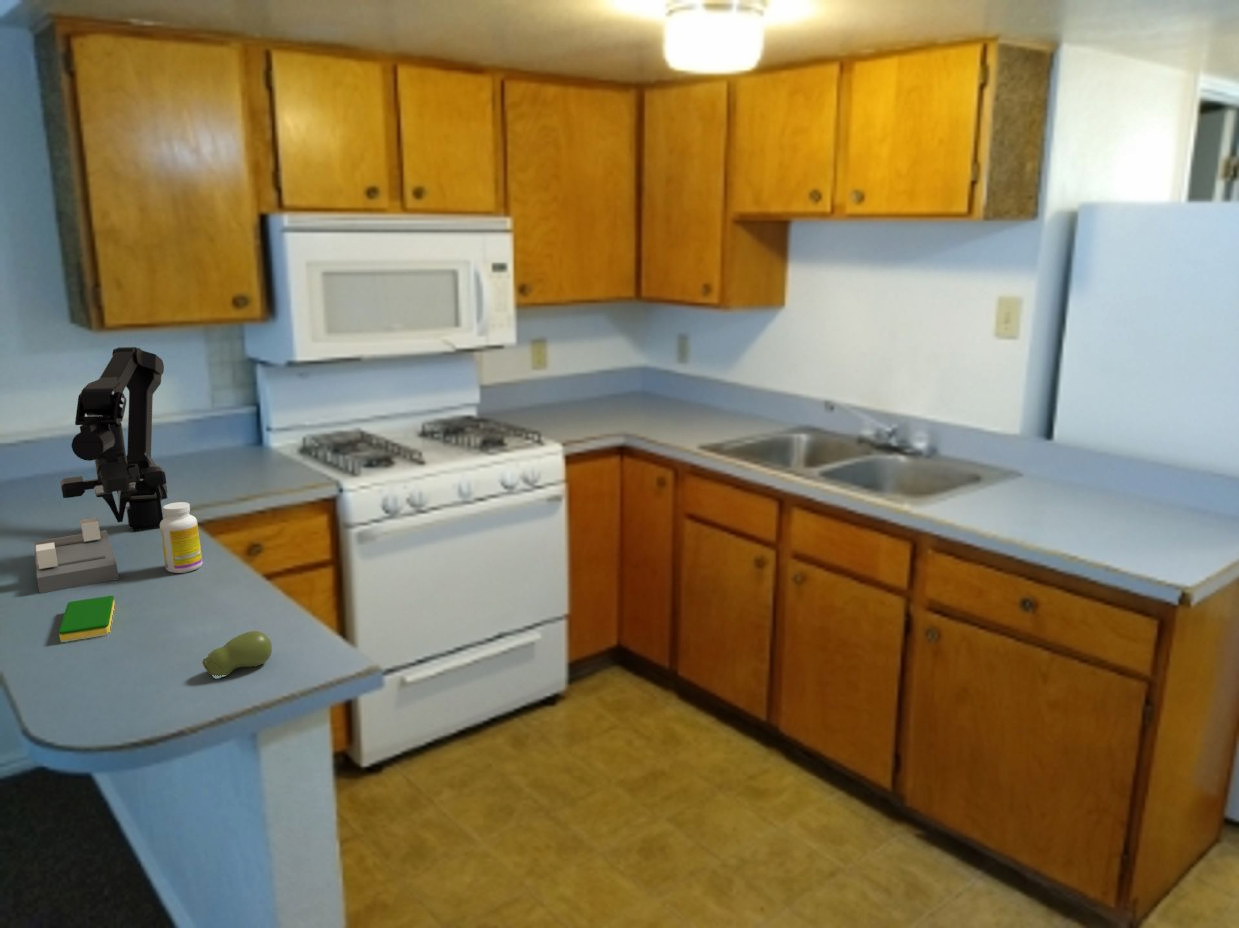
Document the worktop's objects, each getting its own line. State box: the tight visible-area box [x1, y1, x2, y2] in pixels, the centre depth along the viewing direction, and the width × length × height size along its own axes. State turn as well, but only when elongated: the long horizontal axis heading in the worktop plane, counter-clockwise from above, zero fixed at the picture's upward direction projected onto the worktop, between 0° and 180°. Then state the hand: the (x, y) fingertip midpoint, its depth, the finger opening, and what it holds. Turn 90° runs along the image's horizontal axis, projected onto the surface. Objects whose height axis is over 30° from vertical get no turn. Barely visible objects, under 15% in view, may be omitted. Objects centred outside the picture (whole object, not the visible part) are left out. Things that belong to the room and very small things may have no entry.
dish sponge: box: [58, 595, 116, 641], centre depth 161 cm, size 7×14×2 cm, turn 24°
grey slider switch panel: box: [33, 529, 119, 594], centre depth 187 cm, size 13×24×3 cm, turn 32°
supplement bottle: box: [159, 501, 203, 574], centre depth 185 cm, size 7×7×13 cm
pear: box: [201, 630, 273, 676], centre depth 144 cm, size 6×5×10 cm
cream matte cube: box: [79, 517, 101, 542], centre depth 193 cm, size 3×4×4 cm
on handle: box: [36, 542, 58, 569], centre depth 178 cm, size 3×4×4 cm
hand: (120, 521), depth 196 cm, fingers closed
